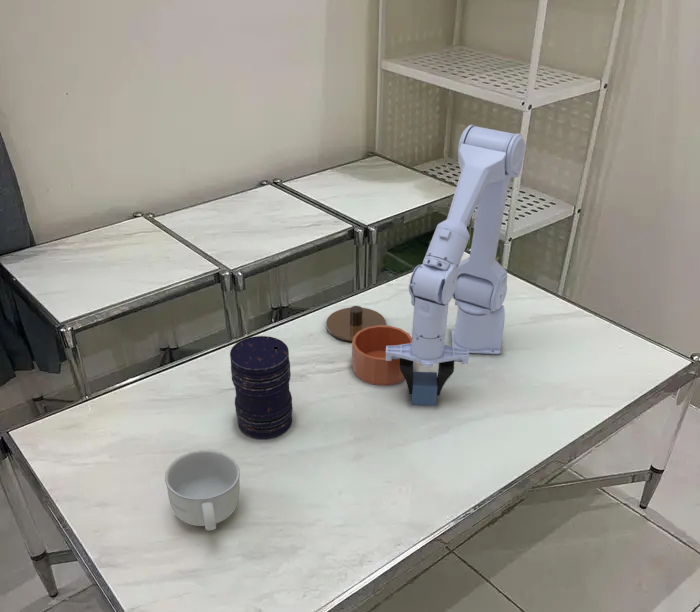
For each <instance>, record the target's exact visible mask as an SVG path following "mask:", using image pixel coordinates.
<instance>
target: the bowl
mask: <svg viewBox="0 0 700 612" xmlns="http://www.w3.org/2000/svg"><path fill="white" fill-rule="evenodd" d="M409 343H412V335H411V334H410V333H409V332H407V331H405V330H403V328H400V327H396V326H394V325H393V326H392V325H386V326H384V325H377V326H371V327H366V328H364V329H362V330H360V331H358V332H357V333H356V335H355V336H354V337H353V341H351V369H352V372H353V374H354V375H355V377H357V378H358V379H359V380H361V381H363V382H365V383H367V384H371V385H375V386H390V385H395V384H400V383H401V382H403V381H406V380H405V378H404V376H403V374H402V373H401V371H400V367H399V365H400V359H392V360H391V361H386V346H396V345H403V344H409Z"/></svg>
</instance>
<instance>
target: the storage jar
mask: <svg viewBox="0 0 700 612" xmlns="http://www.w3.org/2000/svg"><path fill="white" fill-rule="evenodd" d="M229 359H230V373H231V381H232V384H233V386H234V389H235V390H234V391H235V397H234V407H235V415H236V419H237V426H238V429H239V430H240V432H241V433H242V434H243V435H245V436H246V437H248V438H251V439H254V440H261V441H262V440H263V441H264V440H271V439H276V438H279V437H281V436H283V435H285V434H286V433H287V432H289V430H290V429H291V427H292V425H293V397H292V392H291V391H290V380H291V375H292V373H291V362H290V350H289V348H288V345H287V343H285V342H284V341H283V340H281V339H280V338H277V337H273V336H269V335H268V336H267V335H256V336H249V337H247V338H244V339H241V340H240V341H238V342H236V343H235V344H234V345H233V346H232V348H231V350H230V352H229Z"/></svg>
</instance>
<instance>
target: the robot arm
mask: <svg viewBox="0 0 700 612" xmlns="http://www.w3.org/2000/svg"><path fill="white" fill-rule="evenodd" d="M457 146H458V147H457V161H458V162H457V163H458V167H459V170H460V174H459V177H458V181H457V184H456V187H455V190H454V194H453V197H452V201H451V204H450V208H449V210H448V214H447V217H446V219H445V220H443V221H441V222H439V223H438V224H437V225H436V226H435V230H434V233H433V235H432V238H431V240H430V243H429V245H428V247H427V250H426V252H425V256H424V258H423V261H422V264H417V265H416V266H415V267H414V269H413V271H412V273H411V277H410V280H409V284H408V292H409V295H410V298H411V299H410V304H411V305H412V307H413V316H412V317H413V318H412V331H411V332H412V333H411V337H412V343H409V344H403V345H396V346H386V361H391V360H392V359H400V365H399V367H400V371H401V373H402V374H403V376H404V378H405V380H404V381H405V382H406V386H407V389H408V390H407V392H408V395H410V396H412V387H413V371H414V363H419V364H420V365H421V366H422V367H425V368H433V367H434V364H438V366H437V367H438V368H437V386H438V387H437V397H440V395H441V392H442V389H443V387H444V386H445V383H446V382H447V381H448V379H449V378H450V377H451V376H452V375H453V373H454V371H455V363H461V365H466V366H467V365H469V360H470V359H469V358H470V354H485V355H486V354H487V355H500V354H501V347H502V341H503V334H504V328H505V319H506V318H505V317H506V313H505V311H506V310H505V306H504V305H503V304H504V301H505V299H506V295H507V291H508V284H507V283H508V271H507V270H506V268H504V267H503V266H502V264H501V263H499V261H498V260H497V252H498V247H499V241H500V236H501V229H502V224H503V220H504V219H503V218H504V213H505V207H506V202H507V196H508V191H509V185H510V181H511V179H512V178H519V177H520V173H521V171H522V167H523V162H524V155H525V151H526V142H525V139H524V137H523V135H522V134H521V133H512V132H508V131H502V130H497V129H491V128H486V127H481V126H476V125H475V124H468V126H467V127H466V128H465V129H464V130H463V131H462V133H461V135H460V138H459V141H458V145H457ZM475 211H476V213H475ZM474 213H475V220H474V226H473V231H472V232H473V233H472V239H471V247H470V252H469V257H466V258H464V259H463V260H462V258H463V256H464V253H465V250H466V248H467V246H468V243H469V241H470V238H471V235H470V232H469V230H468V225H469V223H470V221H471V219H472V216H473V215H474ZM451 300H454V305H455V306H457V310H456V318H455V328H453V329H451V331H450V333H451V345H446V344H445V341H446V334H447V333H446V332H447V323H448V313H449V303H450V301H451Z"/></svg>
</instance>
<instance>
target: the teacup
mask: <svg viewBox="0 0 700 612" xmlns="http://www.w3.org/2000/svg"><path fill="white" fill-rule="evenodd" d="M240 477H241V471H240V465H239V464H238V462H237V461H236V460H235V459H234V458H233V457H232V456H230V455H229V454H227V453H224V452H221V451H218V450H212V449H197V450H194V451H190V452H187V453H185V454H182V455H180V456H179V457H176V459H174V460H173V461H172V462H171V463H170V464H169V465H168V467H167V469H166V471H165V474H164V482H165V485H166V490H167V491H166V492H167V496H168V501H169V505H170V507H171V510H172V512H173V513H174V515H175V516H176V517H177V518H178V519H179V520H180V521H182V522H183V523H186V524H188V525H191V526H196V527H205V530H206V531H213V530H216V529H217V524H220V523H221V522H223V521H225V520H226V519H228V518H229V517H230V516H232V514H233V513H234V512H235V510H236V508H237V506H238V505H239V500H240Z"/></svg>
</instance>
